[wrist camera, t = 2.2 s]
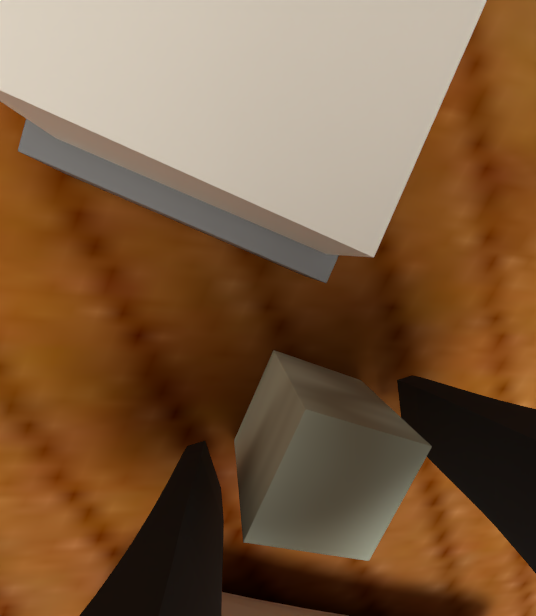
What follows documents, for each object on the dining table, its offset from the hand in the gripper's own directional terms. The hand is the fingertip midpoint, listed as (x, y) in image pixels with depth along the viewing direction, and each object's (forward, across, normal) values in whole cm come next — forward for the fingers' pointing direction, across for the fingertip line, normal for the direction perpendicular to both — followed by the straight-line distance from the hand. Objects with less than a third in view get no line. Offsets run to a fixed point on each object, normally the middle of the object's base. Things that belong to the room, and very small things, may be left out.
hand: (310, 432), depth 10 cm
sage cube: (+2, 0, 0) cm, 2 cm away
